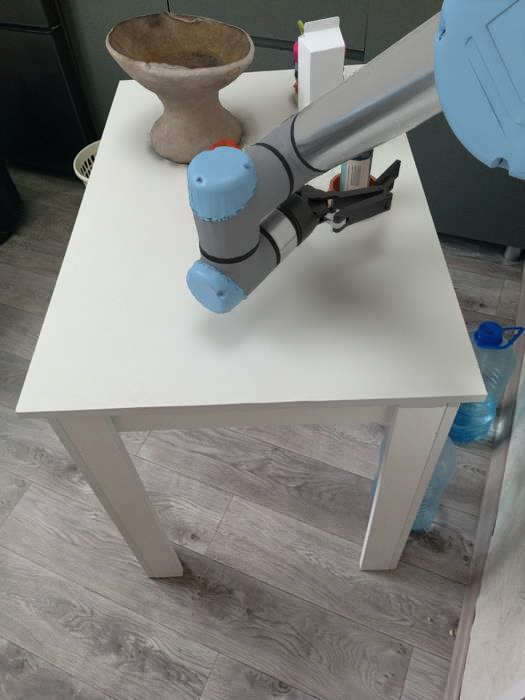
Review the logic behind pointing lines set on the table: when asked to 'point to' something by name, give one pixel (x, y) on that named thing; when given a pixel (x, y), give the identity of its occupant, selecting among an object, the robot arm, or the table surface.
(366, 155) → the beer can
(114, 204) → the table surface
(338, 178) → the holder
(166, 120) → the bowl
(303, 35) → the milk
